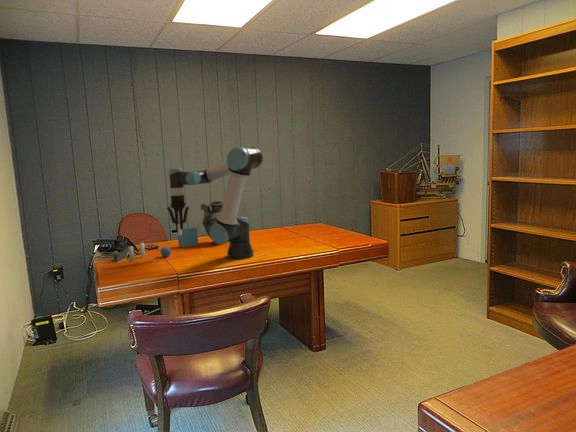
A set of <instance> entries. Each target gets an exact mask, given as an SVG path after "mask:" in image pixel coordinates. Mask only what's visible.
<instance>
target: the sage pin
mask: <svg viewBox="0 0 576 432" xmlns="http://www.w3.org/2000/svg"><path fill="white" fill-rule="evenodd" d="M128 248H129V256H128V257H129V258H128V259H129V262H132V263H133V262H135V253H134V246H132V245H131V246H130V245H129V246H128Z"/></svg>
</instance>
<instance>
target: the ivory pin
mask: <svg viewBox="0 0 576 432" xmlns="http://www.w3.org/2000/svg"><path fill="white" fill-rule="evenodd" d="M139 249H140V258H142V259H144V258H146V250H145V249H146V248H145V242H140V243H139Z"/></svg>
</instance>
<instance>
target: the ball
mask: <svg viewBox="0 0 576 432" xmlns="http://www.w3.org/2000/svg"><path fill="white" fill-rule="evenodd" d="M160 255H161V256H162V257H165V258H167V257H169V256H171V255H172V250H171V248H170V247H168V246H163V247H162V248H161V249H160Z"/></svg>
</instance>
